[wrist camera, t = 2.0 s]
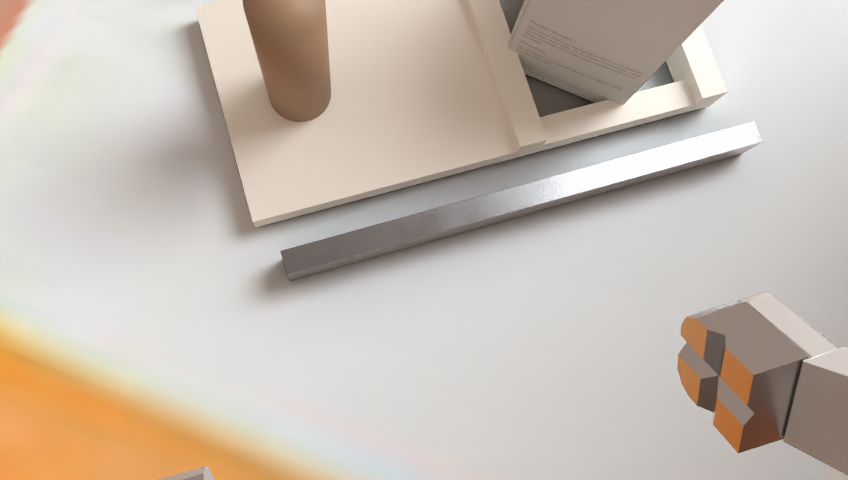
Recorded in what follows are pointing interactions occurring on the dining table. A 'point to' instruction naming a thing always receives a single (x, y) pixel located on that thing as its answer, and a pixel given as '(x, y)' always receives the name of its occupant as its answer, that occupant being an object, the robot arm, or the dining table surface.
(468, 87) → the board with brown peg
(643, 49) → the supplement box
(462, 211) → the dark grey parallel rails
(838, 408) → the robot arm
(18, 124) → the dining table surface
